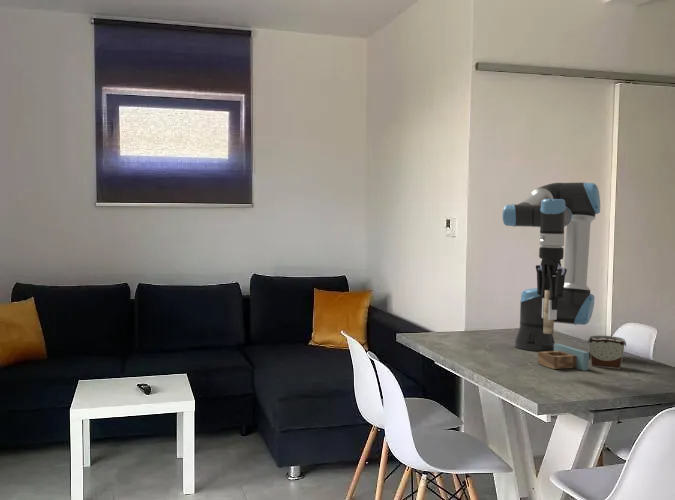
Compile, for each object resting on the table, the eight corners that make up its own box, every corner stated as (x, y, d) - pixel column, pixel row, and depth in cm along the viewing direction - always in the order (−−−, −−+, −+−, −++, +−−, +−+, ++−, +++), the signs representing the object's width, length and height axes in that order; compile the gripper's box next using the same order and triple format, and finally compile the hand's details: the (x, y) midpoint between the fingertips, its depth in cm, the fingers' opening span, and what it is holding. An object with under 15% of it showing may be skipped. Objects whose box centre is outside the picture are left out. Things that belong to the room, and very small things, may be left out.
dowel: (549, 332, 225) (551, 289, 224) (555, 333, 222) (557, 291, 221) (541, 332, 224) (542, 290, 223) (547, 334, 221) (548, 291, 220)
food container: (624, 365, 238) (625, 336, 237) (625, 369, 232) (626, 339, 231) (586, 362, 242) (587, 334, 241) (586, 365, 236) (587, 337, 235)
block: (559, 361, 240) (559, 350, 240) (576, 367, 232) (576, 355, 231) (537, 363, 237) (538, 351, 237) (553, 369, 229) (554, 357, 228)
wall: (558, 360, 244) (558, 343, 244) (588, 370, 229) (588, 352, 229) (553, 360, 243) (553, 343, 243) (583, 370, 228) (583, 352, 228)
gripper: (527, 245, 227) (525, 315, 229) (557, 248, 212) (554, 323, 214) (546, 245, 230) (544, 314, 231) (577, 248, 215) (574, 322, 216)
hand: (549, 318), depth 223 cm, fingers closed on dowel, 3 cm apart
